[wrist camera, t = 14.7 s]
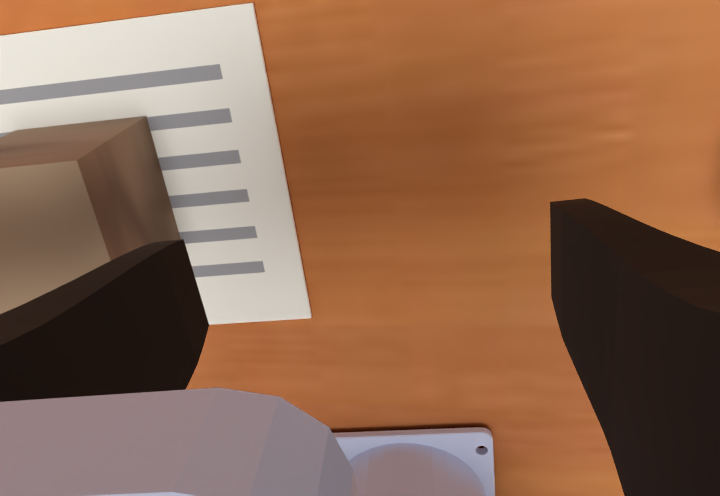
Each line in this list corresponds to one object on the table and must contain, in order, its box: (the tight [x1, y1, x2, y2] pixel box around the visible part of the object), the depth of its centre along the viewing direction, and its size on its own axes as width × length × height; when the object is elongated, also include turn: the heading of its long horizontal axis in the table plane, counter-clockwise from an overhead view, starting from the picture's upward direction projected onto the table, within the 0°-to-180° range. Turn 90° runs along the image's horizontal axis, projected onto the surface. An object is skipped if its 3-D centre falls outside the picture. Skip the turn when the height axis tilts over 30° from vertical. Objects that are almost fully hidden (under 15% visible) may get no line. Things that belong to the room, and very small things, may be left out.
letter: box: [0, 3, 312, 325], centre depth 23 cm, size 12×14×1 cm
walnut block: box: [0, 116, 181, 314], centre depth 21 cm, size 5×5×5 cm
